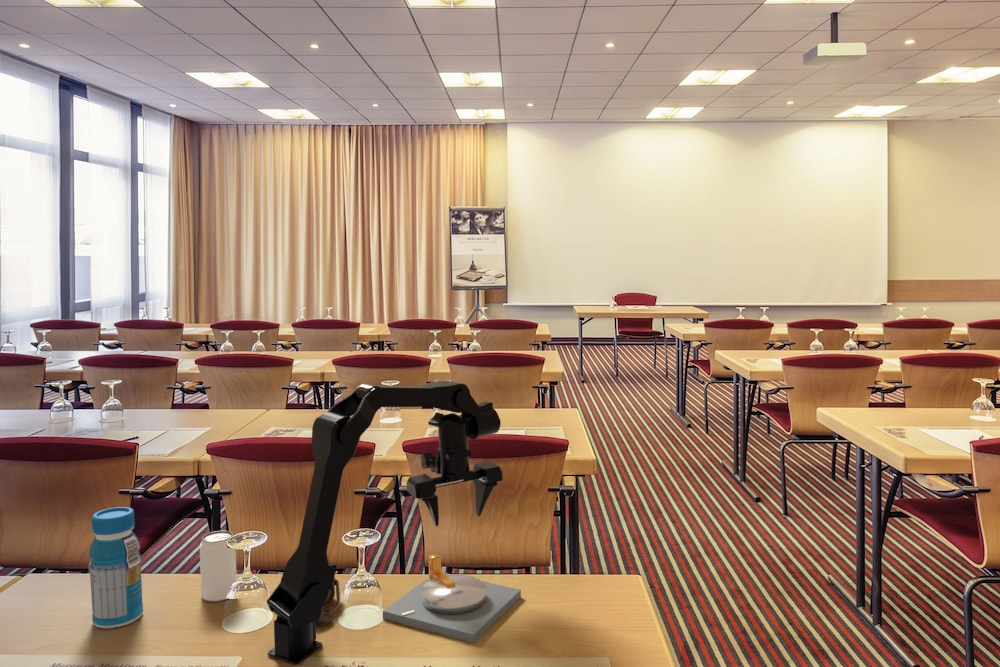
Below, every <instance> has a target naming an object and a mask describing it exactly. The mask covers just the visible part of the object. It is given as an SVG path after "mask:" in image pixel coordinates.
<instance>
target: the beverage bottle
mask: <svg viewBox="0 0 1000 667" xmlns="http://www.w3.org/2000/svg"><path fill="white" fill-rule="evenodd" d="M91 516H92V517H91V528H92V529H91V530H92V534H93V535H94V536H95V537H94V539H93V540H92V542H91V545H90V546H89V550H88V557H89V558H90V562H89V563H88V572H89V575H90V576H89V579H90V590H91V591H90V592H91V608H92V615H91V617H92V620H91V621H92V624H93V625H94V626H95V627H97V628H100V629H115V627H117V628H121V627H124V625H125V626H127V625H130V624H131V623H134V622H136V621H137V620H138V619H140V618H141V617H142V615H143V613H144V603H143V589H142V588H143V587H142V586H143V584H142V581H143V580H142V562H143V559H142V554H141V553H140V551H139V550H140V548H141V542H140V539H139V538H138V536H137V534H135V533H134V531H133V529H135V524H136V523H135V520H136V519H135V512H134V509H133V508H132V507H128V506H116V507H110V508H109V507H108V508H104V509H102V510H101V509H100V510H98V511H96V512H95V513H93V515H91ZM135 620H136V621H135ZM120 626H121V627H120Z"/></svg>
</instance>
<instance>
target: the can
mask: <svg viewBox="0 0 1000 667" xmlns="http://www.w3.org/2000/svg"><path fill="white" fill-rule="evenodd" d="M233 535H234V534H233V532H232V531H228V530H217V531H216V530H215V531H211V532H208V533H205V534H203V535H202V536H201V542H200V544H199V564H200V565H199V567H200V590H201V592H200V593H201V598H202V599H203V600H204V601H205V602H209V603H218V602H219V603H220V602H224V601H226V600H225V599H226V596H227V593H228V591H229V589H230V587H231V586H232V584H233V583H234V582H236V581H237V580H238V579H237V557H236V556H237V555H236V548H235V549H232V548H228V547H227V545H226V542H227V540H228V539H229V538H230V537H233ZM233 538H234V537H233Z"/></svg>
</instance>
